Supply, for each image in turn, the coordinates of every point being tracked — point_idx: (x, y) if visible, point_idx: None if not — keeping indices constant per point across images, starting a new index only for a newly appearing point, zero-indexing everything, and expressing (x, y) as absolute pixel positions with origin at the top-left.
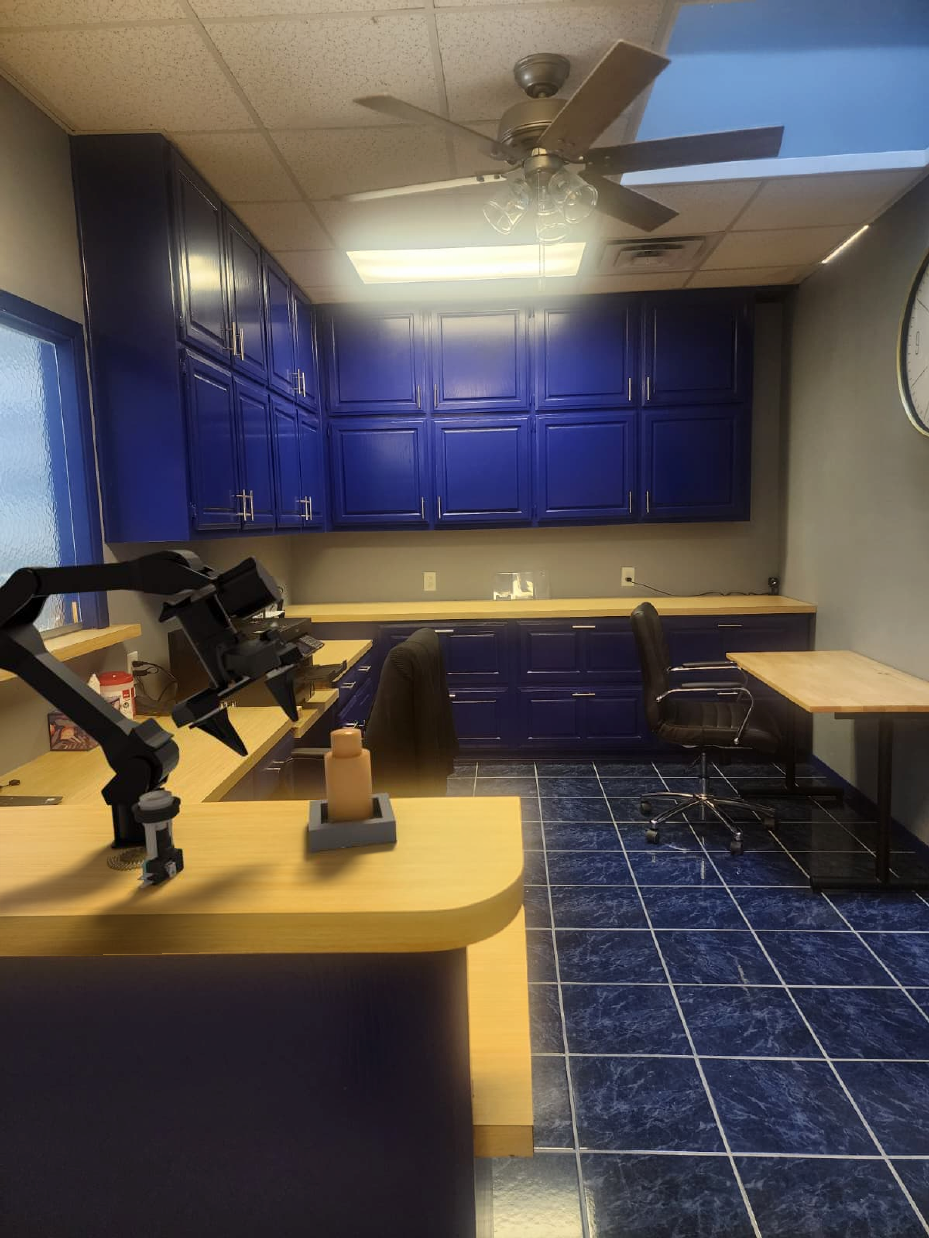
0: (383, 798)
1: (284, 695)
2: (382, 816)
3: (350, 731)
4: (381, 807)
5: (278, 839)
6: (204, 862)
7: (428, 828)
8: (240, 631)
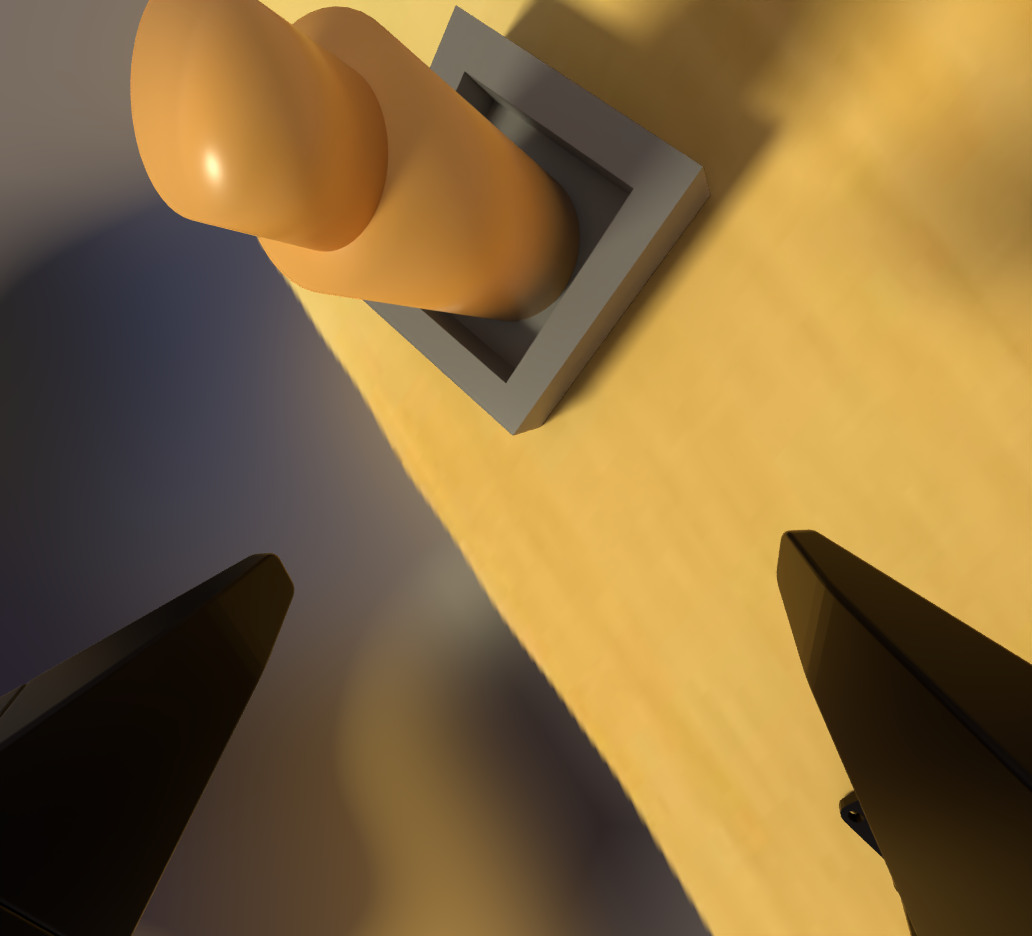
0: None
1: (68, 773)
2: None
3: (171, 97)
4: None
5: (697, 387)
6: (1028, 444)
7: None
8: None
